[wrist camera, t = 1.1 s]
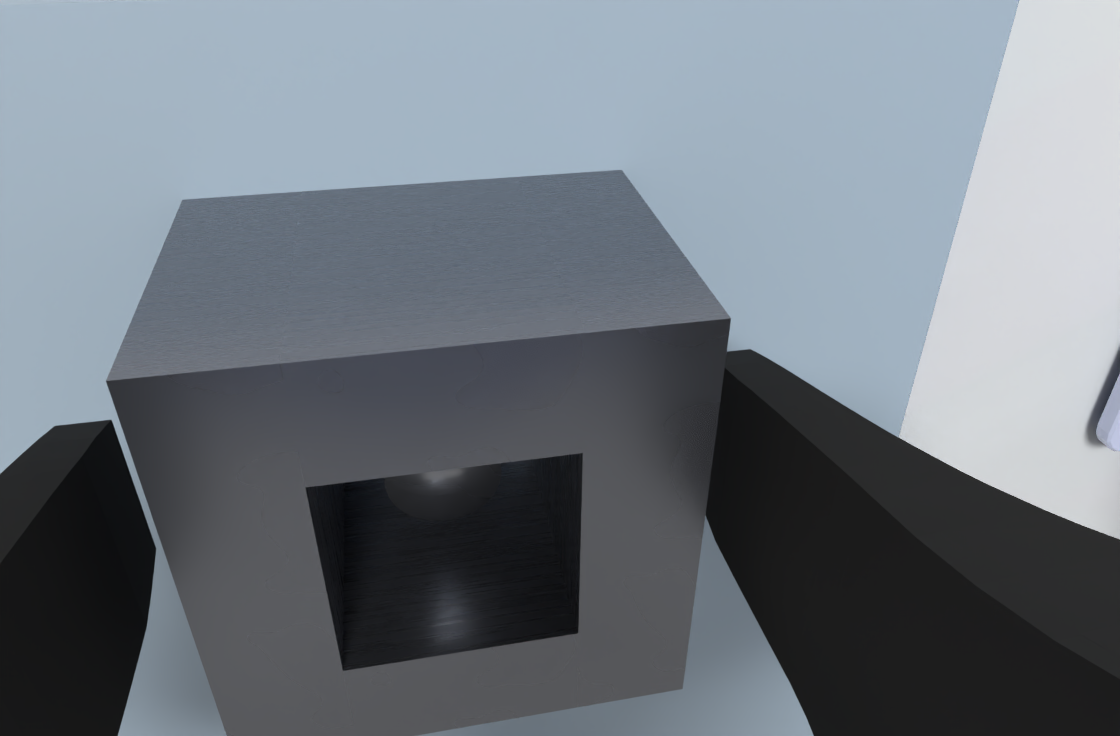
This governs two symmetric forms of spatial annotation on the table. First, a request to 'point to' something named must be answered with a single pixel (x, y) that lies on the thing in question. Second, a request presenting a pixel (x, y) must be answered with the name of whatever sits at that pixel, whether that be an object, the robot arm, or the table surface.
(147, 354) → the collar
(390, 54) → the board
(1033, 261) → the table surface
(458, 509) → the metal cylinder
